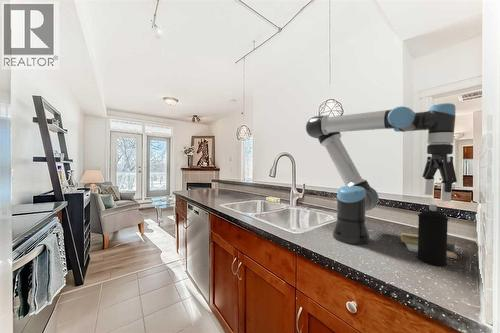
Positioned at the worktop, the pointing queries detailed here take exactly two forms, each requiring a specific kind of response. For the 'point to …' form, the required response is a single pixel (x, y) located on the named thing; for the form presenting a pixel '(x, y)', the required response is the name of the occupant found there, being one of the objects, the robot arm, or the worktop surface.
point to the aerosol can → (432, 237)
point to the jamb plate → (412, 246)
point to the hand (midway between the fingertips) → (436, 197)
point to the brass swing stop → (409, 238)
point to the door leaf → (451, 250)
